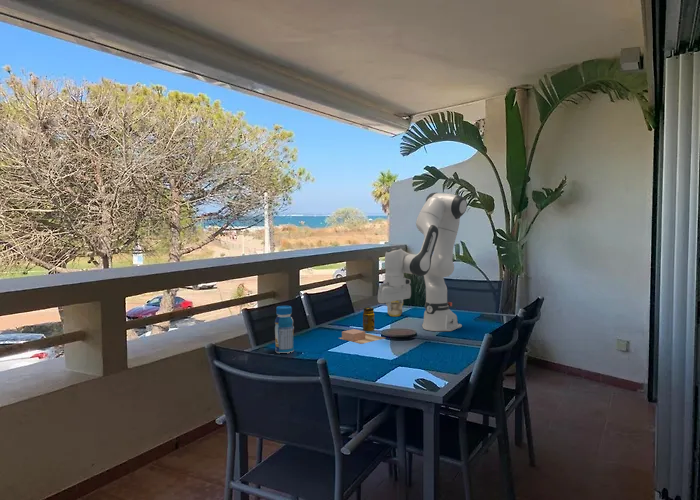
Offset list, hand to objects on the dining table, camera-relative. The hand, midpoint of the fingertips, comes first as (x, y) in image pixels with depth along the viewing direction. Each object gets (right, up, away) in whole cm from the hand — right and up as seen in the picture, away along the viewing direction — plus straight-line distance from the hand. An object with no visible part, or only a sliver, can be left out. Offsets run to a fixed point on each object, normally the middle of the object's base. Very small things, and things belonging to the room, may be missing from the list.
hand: (394, 310), depth 237 cm
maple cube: (0, -2, 0) cm, 2 cm away
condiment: (-13, -14, +20) cm, 28 cm away
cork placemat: (-16, -14, +3) cm, 21 cm away
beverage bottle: (-51, -16, -20) cm, 57 cm away
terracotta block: (-20, -14, +2) cm, 24 cm away
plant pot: (+6, -11, +61) cm, 62 cm away
